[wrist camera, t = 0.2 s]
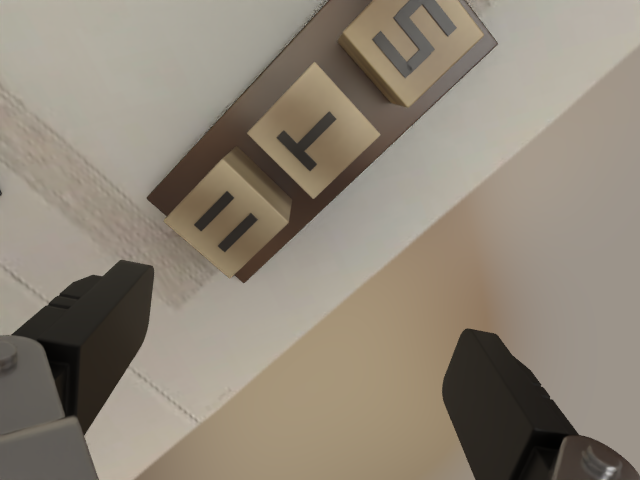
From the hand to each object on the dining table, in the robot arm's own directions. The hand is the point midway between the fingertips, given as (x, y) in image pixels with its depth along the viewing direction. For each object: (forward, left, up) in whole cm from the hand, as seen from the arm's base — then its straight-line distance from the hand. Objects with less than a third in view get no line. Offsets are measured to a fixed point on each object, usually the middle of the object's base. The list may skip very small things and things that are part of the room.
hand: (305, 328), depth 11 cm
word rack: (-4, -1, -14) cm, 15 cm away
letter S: (-8, +2, -13) cm, 16 cm away
